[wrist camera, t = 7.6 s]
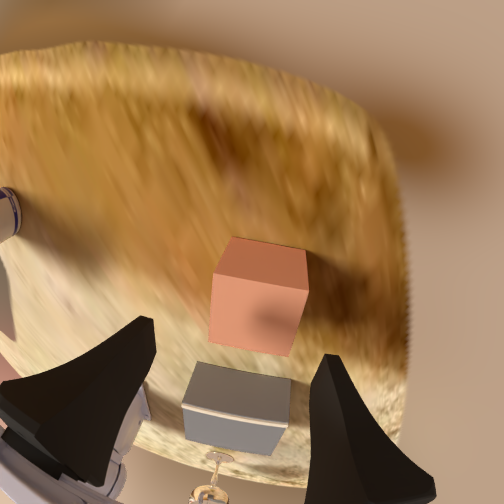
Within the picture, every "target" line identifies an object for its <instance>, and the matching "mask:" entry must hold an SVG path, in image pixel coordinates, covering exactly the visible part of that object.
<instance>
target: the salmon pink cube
mask: <svg viewBox="0 0 504 504" xmlns="http://www.w3.org/2000/svg"><path fill="white" fill-rule="evenodd" d="M308 293H309V284H308V272H307V262H306V252H305V250H302V249H297V248H291V247H286V246H280V245H275V244H270V243H264V242H259V241H253V240H248V239H242V238H237V237H231V239H230V241H229V243H228V245H227V247H226V249H225V251H224V253H223V255H222V257H221V259H220V261H219V263H218V265H217V267H216V269H215V271H214V273H213V284H212V297H211V310H210V324H209V339H208V342H212V343H216V344H221V345H225V346H230V347H235V348H240V349H245V350H250V351H256V352H261V353H267V354H273V355H279V356H286V357H288V356H289V353H290V350H291V347H292V344H293V341H294V338H295V335H296V332H297V329H298V326H299V323H300V319H301V316H302V313H303V310H304V306H305V303H306V300H307V296H308Z"/></svg>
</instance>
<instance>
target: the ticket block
mask: <svg viewBox="0 0 504 504" xmlns="http://www.w3.org/2000/svg"><path fill="white" fill-rule="evenodd" d="M290 393H291V379H286V378H279V377H272V376H266V375H260V374H255V373H249V372H244V371H239V370H234V369H229V368H224V367H219V366H215V365H210V364H206V363H202V362H198V361H197V364H196V366H195V369H194V371H193V374H192V377H191V380H190V382H189V385H188V388H187V390H186V393H185V396H184V398H183V401H182V408H183V418H184V428H185V437H186V439H187V440H190V441H194V442H198V443H202V444H206V445H211V446H215V447H220V448H225V449H230V450H235V451H241V452H247V453H253V454H260V455H268V456H271V454H272V452H273V451H274V449H275V447H276V445H277V444H278V442H279V440H280V438H281V436H282V435H283V433H284V431H285V429H286V428H287V427H288V423H289V412H290Z"/></svg>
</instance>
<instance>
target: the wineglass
mask: <svg viewBox="0 0 504 504" xmlns="http://www.w3.org/2000/svg"><path fill="white" fill-rule="evenodd" d="M206 456H207V457H208V458H209V459H211V460H214V461H215V462H216V468H215V472H214V475H213V477H212V478H211V485H203V486H199V487H196V488H195V489H194V490H193V491H192V492H191V495H190V497H189V502H188V504H229V498H228V496H227V494H226V493H225V492H224V491H223V490H222V489H220V488H218V487H216V486H215V484H216V483H217V480H218V479H217V473H218V468H219V465H220V464H221V463H229V462H232V461H233V460H234V459H233V458H232V457H231V456H229V455H227V454H224V453H219V452H207V453H206Z"/></svg>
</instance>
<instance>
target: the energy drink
mask: <svg viewBox="0 0 504 504" xmlns="http://www.w3.org/2000/svg"><path fill="white" fill-rule="evenodd" d="M20 225H21V209H20V205H19V202H18V200H17V197H16V196H15V194H14V193H13V192H12V191H11V190H10V189H8V188H6V187H2V188H0V244H1V243H2V242H4V241H5V240H7V239H9V238H10V237H12V236H14V235H15V234H17V232H18V231H19V229H20Z"/></svg>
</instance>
